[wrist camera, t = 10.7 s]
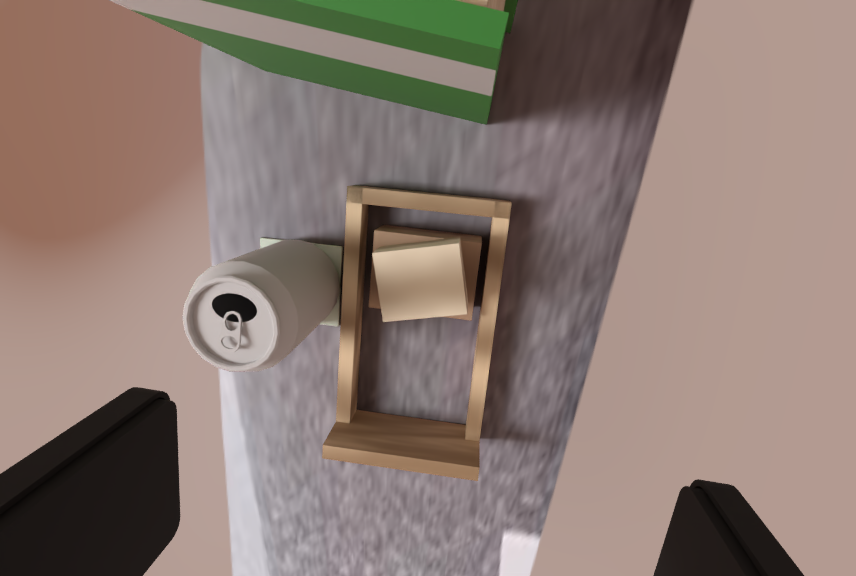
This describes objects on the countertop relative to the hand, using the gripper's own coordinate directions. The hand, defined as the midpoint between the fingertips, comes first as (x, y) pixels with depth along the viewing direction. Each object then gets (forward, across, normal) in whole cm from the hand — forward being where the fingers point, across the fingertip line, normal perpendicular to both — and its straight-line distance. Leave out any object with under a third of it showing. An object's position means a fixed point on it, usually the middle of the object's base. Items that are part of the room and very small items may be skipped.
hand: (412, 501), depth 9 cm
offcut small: (+27, +3, +3) cm, 27 cm away
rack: (+31, +3, +8) cm, 32 cm away
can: (+31, +13, +6) cm, 34 cm away
